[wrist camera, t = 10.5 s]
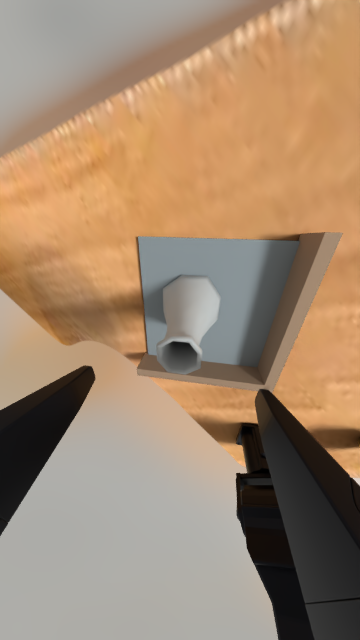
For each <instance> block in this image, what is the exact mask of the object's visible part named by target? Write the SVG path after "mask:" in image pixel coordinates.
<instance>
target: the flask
mask: <svg viewBox="0 0 360 640" xmlns="http://www.w3.org/2000/svg"><path fill="white" fill-rule="evenodd" d="M220 301H221V296H220V295H219V293H218V292H217V290H216V288H215V287H214V285H213V283H212V282H211V280H210V279H209V277H208V276H194V275H181V276H180V277H179V278H177V279H176V280H174V281H173V282H171V283H170V284H169V285H167V286H166V287H164V288H163V311H164V315H165V319H166V323H167V332H166V335H165V338H164V339H163V340H161V341H159V342H158V343H157V345H156V350H157V361H158V362H159V363H160V364H161V365H162V366H163V367H164V369H165V370H166V371H167V372H169V373H177V374H185V375H186V374H188V373H191V372H193V371H196V370H198V369H200V368H201V361H202V352H203V351H202V349H201V348H200V346H199V345H200V342H201V339H202V337H203V336H204V335H205V333H206V332H207V331H208V330H209V328H210V327H211V326H212V325H213V324H214V323H215V322H216V321H217V320H218V314H219V307H220Z"/></svg>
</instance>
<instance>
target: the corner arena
mask: <svg viewBox="0 0 360 640" xmlns="http://www.w3.org/2000/svg"><path fill="white" fill-rule="evenodd" d="M342 234H343V233H330V232H324V233H307V234H300V237H299V240H298V241H283V240H247V239H211V238H175V237H139V236H138V242H139V254H140V265H141V276H142V288H143V299H144V311H145V322H146V334H147V345H148V353H146V352H145V354H144V356H143V358H142V360H141V362H140V364H139V365H138V367H137V374H138V375H141V376H148V377H155V378H163V379H170V380H178V381H185V382H192V383H200V384H207V385H215V386H222V387H229V388H237V389H244V390H252V391H259V389H267V390H269V391H270V392H271V393H272V392H273V390H274V387H275V385H276V383H277V381H278V378H279V376H280V374H281V372H282V369H283V367H284V365H285V363H286V360H287V358H288V356H289V354H290V351H291V349H292V347H293V345H294V342H295V340H296V338H297V336H298V333H299V331H300V329H301V327H302V324H303V322H304V320H305V317H306V315H307V313H308V311H309V308H310V306H311V304H312V302H313V299H314V297H315V295H316V293H317V290H318V288H319V286H320V284H321V281H322V279H323V277H324V275H325V272H326V270H327V268H328V266H329V263H330V261H331V259H332V257H333V254H334V252H335V250H336V247H337V245H338V243H339V241H340V238H341V236H342ZM181 275H194V276H208V277H209V279H210V280H211V282H212V283H213V285H214V287H215V288H216V290H217V292H218V293H219V295H220V296H221V301H220V307H219V314H218V320H217V321H216V322H215V323H214V324H213V325H212V326H211V327H210V328H209V330H208V331H207V332H206V333H205V335H204V336H203V337H202V339H201V342H200V345H199V346H200V348H201V349H202V351H203V352H202V361H201V368H200V369H198V370H196V371H193V372H191V373H188V374H186V375H185V374H177V373H169V372H167V371H166V370H165V369H164V367H163V366H162V365H161V364H160V363H159V362H158V361H157V350H156V345H157V343H158V342H159V341H161V340H163V339H164V338H165V335H166V332H167V323H166V319H165V315H164V311H163V288H164V287H166V286H167V285H169V284H170V283H171V282H173V281H174V280H176V279H177V278H179V277H180V276H181Z"/></svg>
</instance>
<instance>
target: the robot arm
mask: <svg viewBox="0 0 360 640" xmlns="http://www.w3.org/2000/svg"><path fill="white" fill-rule="evenodd" d="M94 381H95V374H94V371H93V368H92V367H91V366H82V367H80V368H79V369H76V370H75V371H73V372H71V373H69V374H67V375H66V376H63V377H62V378H60V379H58V380H56V381H54V382H52V383H50V384H49V385H47V386H45V387H43V388H41V389H39V390H37V391H36V392H34V393H32V394H30V395H28V396H26V397H25V398H23V399H21V400H19V401H17V402H15V403H13V404H11V405H10V406H8V407H6V408H4V409H2V410H0V536H1V534H2V532H3V531H4V529H5V528H6V526H7V524H8V522H9V521H10V519H11V518H12V516H13V515H14V513H15V511H16V510H17V508H18V507H19V505H20V504H21V502H22V500H23V499H24V497H25V496H26V494H27V492H28V490H29V489H30V488H31V486H32V484H33V483H34V481H35V480H36V478H37V476H38V475H39V473H40V471H41V470H42V469H43V467H44V465H45V464H46V462H47V461H48V459H49V457H50V456H51V454H52V453H53V451H54V449H55V448H56V446H57V445H58V443H59V442H60V440H61V438H62V437H63V435H64V434H65V432H66V430H67V429H68V427H69V426H70V424H71V422H72V421H73V419H74V418H75V416H76V414H77V413H78V411H79V410H80V408H81V406H82V404H83V402H84V400H85V399H86V397H87V395H88V393H89V391H90V389H91V387H92V385H93V383H94ZM255 406H256V413H257V419H258V425H259V426H256V425H250V424H242V425H241V428H240V431H239V434H238V436H237V439H236V444H238V445H242V446H243V452H244V457H245V463H246V469H247V473H246V474H245V473H244V474H240V473H236V476H237V478H236V490H237V518H238V519H239V521H240V523H241V527H242V530H243V533H244V535H245V537H246V544H247V549H248V552H249V554H250V557H251V559H252V561H253V563H254V565H255V567H256V569H257V571H258V573H259V575H260V578H261V580H262V582H263V584H264V587H265V589H266V591H267V593H268V595H269V598H270V600H271V602H272V606H273V611H274V617H275V622H276V628H277V634H278V640H360V486H359V485H358V484H357V483H356V481H355V480H354V479H353V478H351V477H350V476H349V474H348V473H347V472H346V471H345V470H344V469H343V468H342V467H341V466H340V465H339V464H338V462H337V461H336V460H335V459H334V458H333V457H332V456H331V455H330V454H329V453H328V452H327V451H326V450H325V449H324V448H323V447H322V446H321V444H320V443H319V442H318V441H317V440H316V439H315V438H314V437H313V436H312V435H311V434H310V433H309V432H308V431H307V430H306V429H305V428H304V427H303V425H302V424H301V423H300V422H299V421H298V420H297V419H296V418H295V417H294V416H293V415H292V414H291V413H290V412H289V411H288V410H287V409H286V407H285V406H284V405H283V404H282V403H281V402H280V401H279V400H278V399H277V398H276V397H275V396H274V395H273V394H272V393H271V392H270V391H269V390H267V389H259V391H258V393H257V396H256V398H255Z"/></svg>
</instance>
